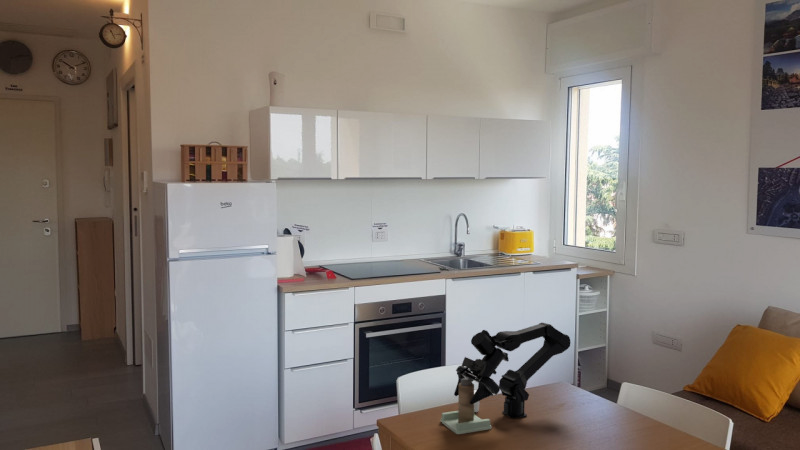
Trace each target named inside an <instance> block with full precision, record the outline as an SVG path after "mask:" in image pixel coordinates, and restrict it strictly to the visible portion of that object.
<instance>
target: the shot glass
mask: <svg viewBox="0 0 800 450" xmlns="http://www.w3.org/2000/svg"><path fill="white" fill-rule="evenodd" d="M477 389H478V388H477ZM477 389H476V388H474V394H475V392H476V391H477ZM480 401H481V400H480ZM480 401H478V402H476V403H474V412H476V413H478V412H479V411H480Z"/></svg>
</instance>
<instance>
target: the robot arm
mask: <svg viewBox="0 0 800 450" xmlns="http://www.w3.org/2000/svg"><path fill="white" fill-rule="evenodd" d="M539 338H543V345H542V346H541V348H540V349H538V350H537V351H536V352H535V353H534V354H533V355H531V356H530V358H529V359H528V360H527V361H525V362H524V363H523V364H522V365H521V366H520V367H519V368H518V369H516V370H513V369H508V370H507V371H506V372H505V373H504V374H502V375H501V378H500V379H499V382H498V384H497V382H496V381H495V380H494V379H493V378H491V376H493V375H497V373H498V372H497V371H496V370H497V368H498V367H499V365H500V364H501V363H502V362H503V361H505V362H509V354H508V353H507V352H512V351H513V352H514V351H515V350H516V349H518V348H520V346H521V345H522V344H524V343H527V342H530V341H533V340H536V339H539ZM470 342H471V343H470V344H471V345H472V347H474V348H475V350H476V351H478V353H480V355H481V356H483V357H482V358H476V359H475V360H474V359H471V358H469V357H466V356H464V358H463V361H462V363H461V365H458V367H457V368H456V369H455V371H456V375H457V377H458V380H457V383H456V387H455V390H454V393H453V396H455V397H459V383H461V379H463V378H469V379H472V383H473V381H474V382H476V383H478V386H477V391H476V392H475V394H474V396H473V397H472V399H471V401H470V404H471V405H472V404H474V403H476V402H478V401H481V400H485V399H486V398H489V397H491V396H492V397H493V396H494V395H495V396H497V395H498V394H499V392H500V391H501V392H500V393H501V395H502V396H504V401H503V410H502V411H501V413H502V414H503V415H505V416H506V417H508V418H510V419H517V418H518V419H519V418H525V417H528V414H527V413H525V402H526V401H528V400H529V396H530V394H529V393H528V391H526V387H527V384H528V381H529V379H531V378H532V377H533V376H534V375H535V374H536V373H537V372H538V371H539V370H541V368H542V367H543V366H544V365H545V364H546V363H548V362H549V360H551V359H552V358H553V357H554V356H558V355H560V354H562V353H564V352H566V351H567V350H569V348H570V347H571V337H570V336H569V335H567V334H566V333H565V334H564V333H563V332H562V331H560V330H558V329H556V328H555V327H554V326H553V325H552V324H549V323H546V322H540V323H538V324H535V325H531V326H529V327H524V328H522V329H518V330H514V331H513V330H511V331H510V330H505V331H504V330H503V331H499V332H498V331H497V332H496V334H494V335H492V336H491V334H490V333H489V331H488V330H486V329H483V330H482V331H480V332H477V333H476V334H474V335H473V336H472V338H471V340H470ZM503 350H504V351H503ZM505 351H507V352H505Z"/></svg>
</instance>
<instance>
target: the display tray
mask: <svg viewBox="0 0 800 450" xmlns="http://www.w3.org/2000/svg"><path fill="white" fill-rule="evenodd" d="M440 421H441V422H442V423H441V422H440ZM440 421H439V422H440V423H441V424H443V425H444V426H445V427H447V428H448V429H449V430H451V432H453V433H454V434H456V435H463V434H469V433H475V432H480V431H487V430H492V427H493V426H492V425H491V419H489V418H484V419H482V418H480V416H479V417H478V416H477V415H476V414H474V421H470V422H464V423H458V410H454V411H447V412H446V411H445V412H441V418H440Z"/></svg>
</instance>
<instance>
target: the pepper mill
mask: <svg viewBox="0 0 800 450" xmlns="http://www.w3.org/2000/svg"><path fill="white" fill-rule="evenodd" d="M474 389H475V384H474V383H473V382H472V379H469V378H463V379H461V383H459V395H458V405H457V406H458V409H457V411H458V423H464V422H470V421H474V415H475V413H474V404H472V405H471V404H470V401H471V399H472V397H473V396H474Z"/></svg>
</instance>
